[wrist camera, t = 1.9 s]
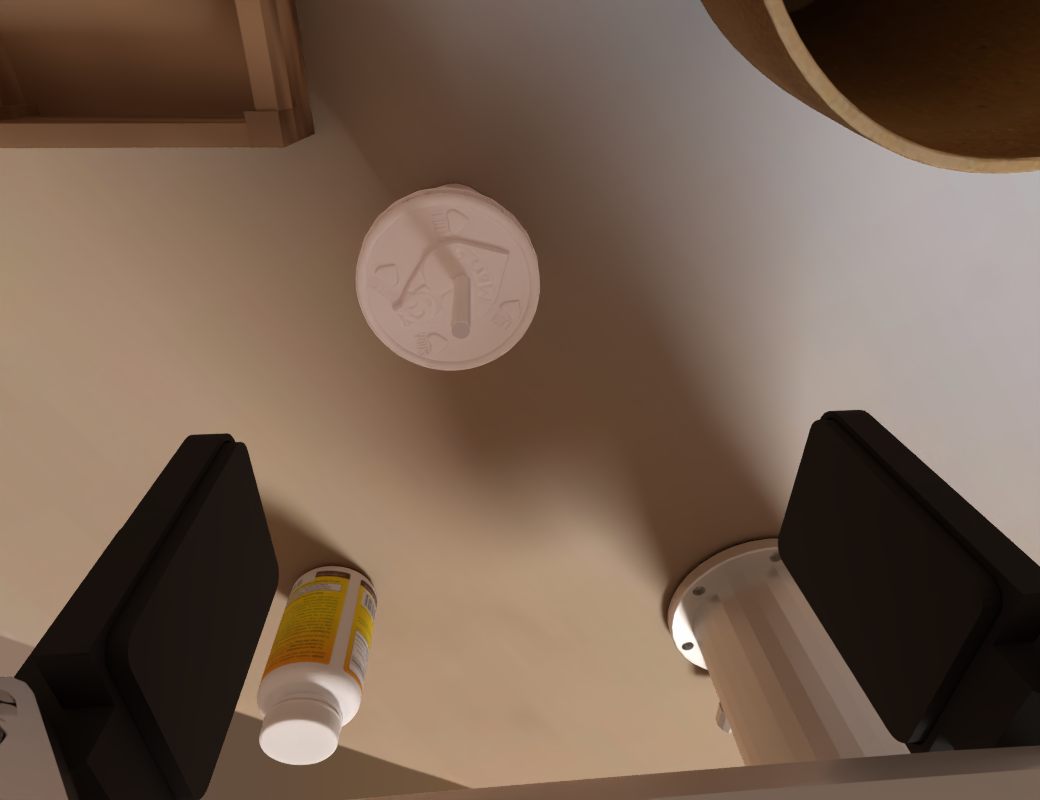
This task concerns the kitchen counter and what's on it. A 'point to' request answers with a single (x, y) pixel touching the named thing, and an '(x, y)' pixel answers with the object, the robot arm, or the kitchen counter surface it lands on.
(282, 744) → the supplement bottle
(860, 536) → the robot arm
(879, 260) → the kitchen counter surface
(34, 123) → the crate
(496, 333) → the smoothie
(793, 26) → the plant pot
